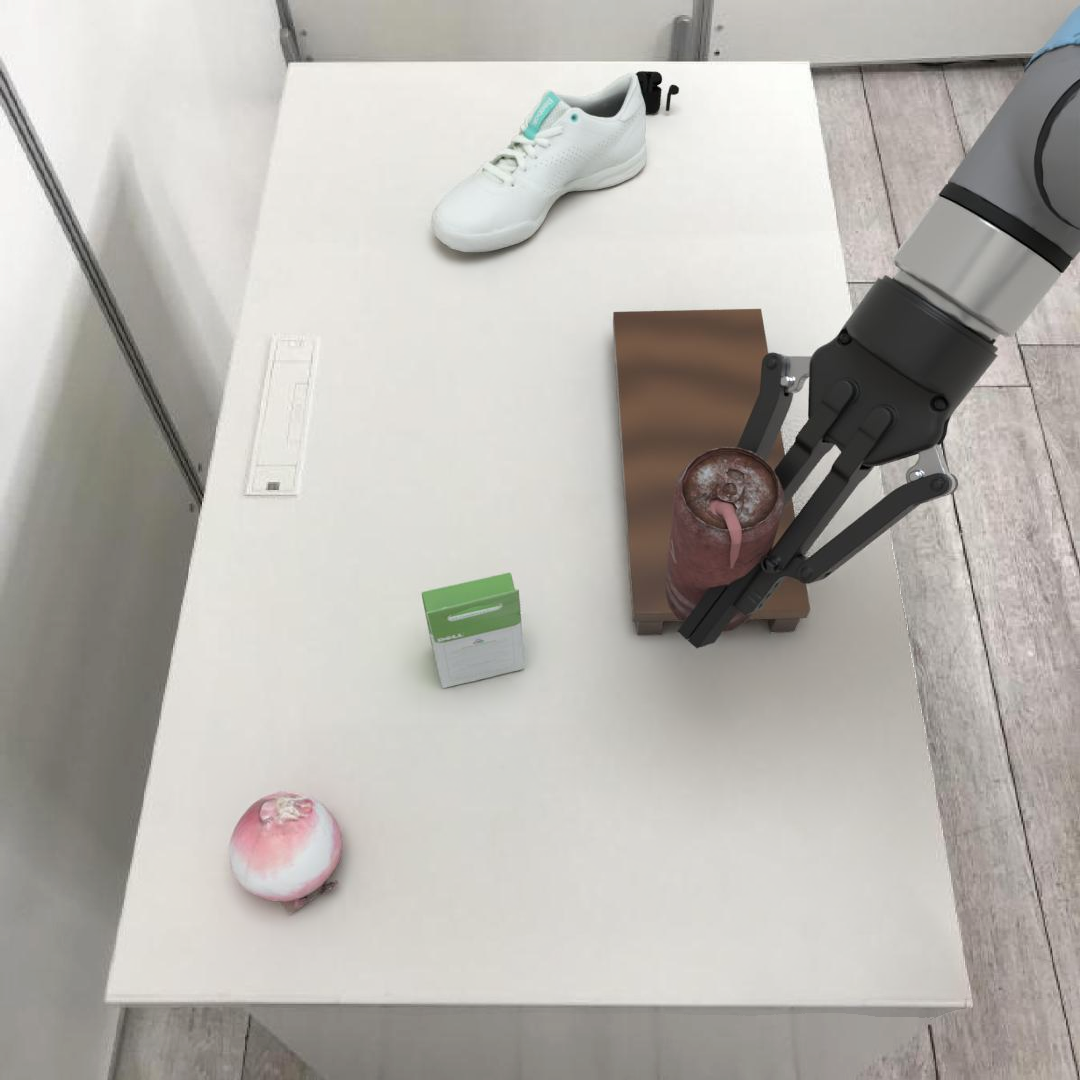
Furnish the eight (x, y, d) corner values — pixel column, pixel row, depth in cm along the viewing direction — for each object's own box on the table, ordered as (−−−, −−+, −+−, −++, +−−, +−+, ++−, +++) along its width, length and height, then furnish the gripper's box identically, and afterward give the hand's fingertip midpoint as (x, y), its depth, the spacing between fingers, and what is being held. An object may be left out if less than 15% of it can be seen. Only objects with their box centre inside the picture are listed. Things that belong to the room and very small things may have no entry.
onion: (361, 818, 80) (344, 788, 74) (334, 923, 76) (314, 901, 70) (259, 801, 81) (234, 770, 75) (227, 905, 77) (198, 881, 71)
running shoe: (410, 227, 113) (395, 134, 102) (602, 122, 121) (606, 26, 111) (466, 281, 108) (457, 189, 98) (661, 168, 117) (671, 73, 107)
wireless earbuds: (614, 115, 121) (616, 76, 117) (615, 101, 123) (617, 61, 118) (676, 117, 121) (680, 77, 117) (676, 102, 122) (680, 63, 118)
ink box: (514, 627, 88) (508, 545, 77) (526, 670, 86) (521, 592, 75) (432, 646, 88) (413, 566, 76) (441, 690, 86) (423, 614, 74)
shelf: (800, 632, 88) (810, 610, 84) (630, 635, 88) (633, 613, 84) (754, 336, 104) (761, 308, 101) (611, 339, 104) (613, 311, 101)
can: (680, 649, 69) (693, 550, 57) (655, 564, 72) (662, 452, 60) (770, 629, 70) (802, 526, 57) (741, 545, 73) (767, 430, 60)
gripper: (1059, 381, 57) (798, 698, 66) (864, 254, 62) (646, 564, 71) (1042, 370, 51) (755, 723, 60) (826, 229, 56) (591, 574, 65)
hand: (696, 636), depth 65 cm, fingers closed
